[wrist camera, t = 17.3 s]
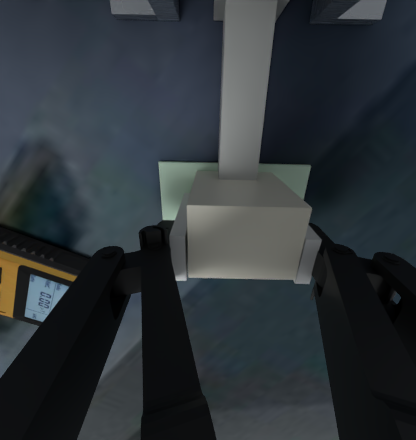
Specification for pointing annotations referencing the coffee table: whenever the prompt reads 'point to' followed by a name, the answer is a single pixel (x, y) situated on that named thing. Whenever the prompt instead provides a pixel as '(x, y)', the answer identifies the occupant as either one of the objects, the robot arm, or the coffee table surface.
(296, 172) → the mat
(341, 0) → the gray arch bracket
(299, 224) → the light grey block hammer
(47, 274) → the electronic device
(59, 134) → the coffee table surface
